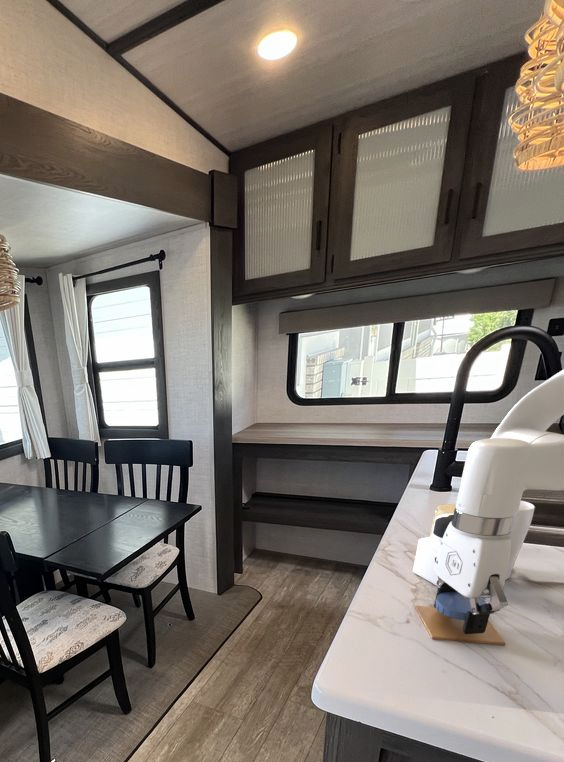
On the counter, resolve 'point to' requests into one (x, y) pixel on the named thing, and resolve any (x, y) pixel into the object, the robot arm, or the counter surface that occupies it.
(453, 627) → the cork coaster
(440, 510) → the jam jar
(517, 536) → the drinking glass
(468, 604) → the lid
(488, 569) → the robot arm
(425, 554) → the container
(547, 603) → the counter surface
